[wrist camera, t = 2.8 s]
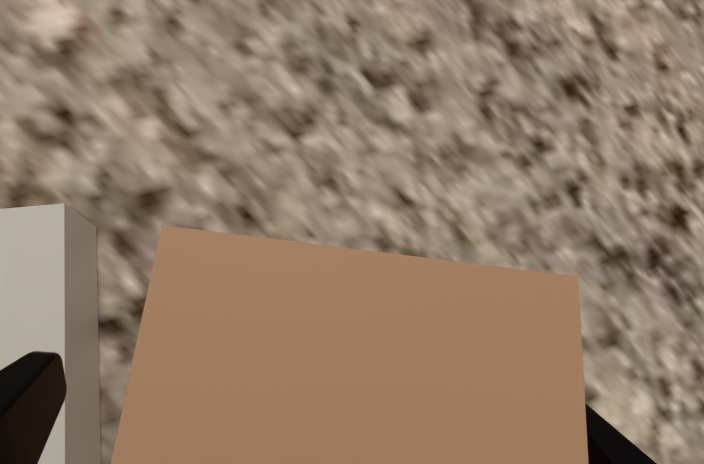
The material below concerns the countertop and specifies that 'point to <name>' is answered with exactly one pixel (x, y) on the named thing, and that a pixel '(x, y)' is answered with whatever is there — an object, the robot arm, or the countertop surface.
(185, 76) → the countertop surface
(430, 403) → the block
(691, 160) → the countertop surface
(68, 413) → the plinth
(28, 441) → the robot arm
